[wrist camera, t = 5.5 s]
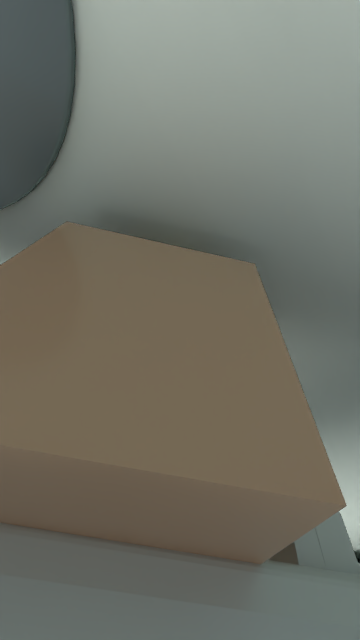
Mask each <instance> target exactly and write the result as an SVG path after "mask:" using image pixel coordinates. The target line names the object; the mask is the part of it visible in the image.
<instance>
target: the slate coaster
mask: <svg viewBox="0 0 360 640" xmlns="http://www.w3.org/2000/svg"><path fill="white" fill-rule="evenodd" d="M74 81H75V38H74V22H73V10H72V4H71V0H0V209H3V208H5V207H7V206H9V205H11V204H13V203H15V202H17V201H19V200H20V199H22V198H23V197H24V196H26V195H27V194H28V193H30V192H31V191H32V190H33V189H34V188H35V187H36V186H37V185H38V184H39V182H40V181H41V180H42V179H43V178H44V177H45V175H46V174H47V172H48V171H49V169H50V167H51V166H52V164H53V163H54V161H55V159H56V157H57V154H58V152H59V150H60V147H61V145H62V142H63V140H64V137H65V133H66V129H67V125H68V122H69V118H70V113H71V106H72V99H73V92H74Z"/></svg>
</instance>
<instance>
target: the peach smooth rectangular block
mask: <svg viewBox="0 0 360 640" xmlns="http://www.w3.org/2000/svg"><path fill="white" fill-rule="evenodd" d="M346 506H347V505H346V503H345V500H344V497H343V495H342V492H341V490H340V487H339V484H338V482H337V479H336V476H335V474H334V471H333V468H332V466H331V463H330V461H329V458H328V455H327V453H326V450H325V447H324V445H323V442H322V440H321V437H320V434H319V432H318V429H317V426H316V424H315V421H314V418H313V416H312V413H311V411H310V408H309V405H308V403H307V400H306V397H305V395H304V392H303V389H302V387H301V384H300V382H299V379H298V376H297V374H296V371H295V368H294V366H293V363H292V361H291V358H290V355H289V353H288V350H287V347H286V345H285V342H284V339H283V337H282V334H281V332H280V329H279V326H278V324H277V321H276V318H275V316H274V313H273V310H272V308H271V305H270V303H269V300H268V297H267V295H266V292H265V289H264V287H263V284H262V282H261V279H260V276H259V274H258V271H257V268H256V266H255V264H254V263H249V262H245V261H241V260H236V259H232V258H227V257H223V256H218V255H214V254H209V253H205V252H200V251H196V250H192V249H187V248H183V247H178V246H174V245H169V244H165V243H160V242H156V241H151V240H147V239H143V238H138V237H134V236H129V235H125V234H120V233H116V232H111V231H107V230H103V229H98V228H94V227H89V226H85V225H80V224H76V223H71V222H65V223H64V224H62V225H61V226H59V227H58V228H56V229H55V230H53V231H52V232H50V233H49V234H47V235H46V236H44V237H43V238H41V239H40V240H38V241H36V242H35V243H33V244H32V245H30V246H29V247H27V248H26V249H24V250H23V251H21V252H20V253H18V254H17V255H15V256H14V257H12V258H11V259H9V260H8V261H6V262H5V263H3V264H2V265H0V523H5V524H12V525H18V526H24V527H30V528H37V529H43V530H49V531H56V532H62V533H68V534H74V535H81V536H87V537H93V538H99V539H106V540H112V541H118V542H124V543H131V544H137V545H143V546H149V547H156V548H162V549H168V550H175V551H181V552H187V553H193V554H200V555H206V556H212V557H219V558H225V559H231V560H237V561H244V562H250V563H256V564H262V563H264V562H265V561H266V560H268V559H269V558H271V557H272V556H274V555H275V554H277V553H278V552H280V551H281V550H283V549H284V548H285V547H287V546H288V545H290V544H291V543H293V542H294V541H296V540H297V539H299V538H300V537H302V536H303V535H305V534H306V533H307V532H309V531H310V530H312V529H313V528H315V527H316V526H318V525H319V524H321V523H322V522H324V521H325V520H327V519H328V518H329V517H331V516H332V515H334V514H335V513H337V512H338V511H340V510H341V509H343V508H344V507H346Z"/></svg>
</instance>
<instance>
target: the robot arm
mask: <svg viewBox="0 0 360 640" xmlns="http://www.w3.org/2000/svg"><path fill="white" fill-rule="evenodd" d="M0 640H360V563H358V561H357V558H356V556H355V553H354V550H353V547H352V544H351V542H350V539H349V536H348V533H347V530H346V527H345V525H344V522H343V519H342V516H341V514H340V513H339V511H338V512H337V513H335V514H334V515H332V516H331V517H329V518H328V519H327V520H325V521H324V522H322V523H321V524H319V525H318V526H316V527H315V528H313V529H312V530H310V531H309V532H307V533H306V534H305V535H303V536H302V537H300V538H299V539H297V540H296V541H294V542H293V543H291V544H290V545H288V546H287V547H285V548H284V549H283V550H281V551H280V552H278V553H277V554H275V555H274V556H272V557H271V558H269V559H268V560H266V561H265V562H264V563H262V564H256V563H250V562H244V561H237V560H231V559H225V558H219V557H212V556H206V555H200V554H193V553H187V552H181V551H175V550H168V549H162V548H156V547H149V546H143V545H137V544H131V543H124V542H118V541H112V540H106V539H99V538H93V537H87V536H81V535H74V534H68V533H62V532H56V531H49V530H43V529H37V528H30V527H24V526H18V525H12V524H5V523H0Z"/></svg>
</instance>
